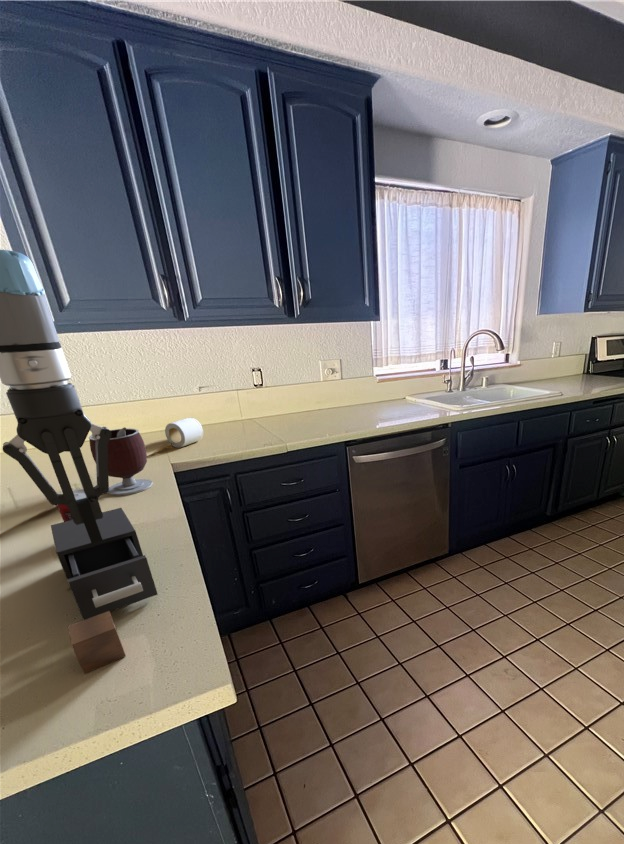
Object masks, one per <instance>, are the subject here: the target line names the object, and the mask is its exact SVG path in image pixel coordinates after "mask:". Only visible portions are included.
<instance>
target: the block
mask: <svg viewBox="0 0 624 844" xmlns="http://www.w3.org/2000/svg"><path fill="white" fill-rule="evenodd" d="M67 629H68V635H69V640H70V644H71V647H72V650H73V652H74V654H75V657H76V659H77V662H78V663H79V666H80V669H81V670H82V673H83V674H84V675H85V674H87V673H90V672H92V671H95V670H98V669H100V668H102V667H104V666H106V665H108V664H109V665H110V664H111V663H114V662H116V661H118V660H121V659H123V658H126V656H127V655H126V653H125V650H124V646H123V645H122V644H123V643H122V641H121V638H120V635H119V633H118V630H117V627H116V625H115V621H114V619H113V617H112V614H111V612H110V611H107V612H105V613H102V614H99V615H96V616H94V617H91V618H88V619H86V620H83V619H82V620H81V621H77V622H74V623H72V624H69V625H68V626H67Z"/></svg>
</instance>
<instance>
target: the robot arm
mask: <svg viewBox="0 0 624 844" xmlns="http://www.w3.org/2000/svg"><path fill="white" fill-rule="evenodd" d="M45 293H46V291H45V289H44V288H43V286H42V284H41V281H40V279H39V276H38V273H37V271H36V269H35V267H34V264H33V262H32V261H31V259H30V258H29V257H28V256H27V255H25V254H23V253H22V252H19V251H15V250H10V249H9V250H8V249H0V382H1V384H3V385H4V386H7V387H9V388H8V389H7V391H6V393H5V394H6V397H7V399H8V401H9V405H10V406H11V409H12V412H13V414H14V417H15V419H16V423H17V426H16V435H15V436H14V437H13V438H11V439H10V440H9V441H5V442H4V443H3V444H2V452H3V453H5V454H6V455H7V456H9V458H12V459H13V460H15V461H17V462H18V464H19V465H20V466H21V468H22V469H23V470H24V471H25V473H26V474H27V475H28V476H29V478H30V479H31V481H32V482H33V483H34V484H35V486H36V487H37V488H38V489H39V491H40V492H41V494H42V495H43V496H44V497H45V499H46V500H47V501H48V502H49V503H50V505H52V506H57V505H66V506H67V507H68V508H69V511H70V513H71V516H72V519H73V521H74V523H75V524H76V525H79V524H82V523H84V525H85V527H86V530H87V533H88V535H89V538H90V541H91V543H92V544H93V543H97V542H100V541H103V540H102V537H101V534H100V531H99V529H98V526H97V523H96V520H97V519H101V518H103V514H102V512H103V511H102V508H101V506H100V502H99V498H100V497H101V496H102V495H106V494H109V493H108V491H109V487H110V484H109V483H110V482H109V481H110V480H109V476H108V448H107V445H108V443H109V440H110V438H111V435H112V432H111V431H110V430H111V429H109V428H108V427H107V426H100V425H97V424H94V423H92V422H91V420H90V419H89V417H87V416H86V414H85V413H84V411H83V407H82V404H81V402H80V398H79V396H78V392H77V390H76V386H75V385H73V383H71V382H68V381H69V380H71V378H72V374H71V371H70V368H69V365H68V362H67V360H66V357H65V353H64V351H63V348H62V344H61V343H60V338H59V335H58V333H57V328H56V326H55V323H54V320H53V316H52V314H51V310H50V307H49V305H48V301H47V297H46V295H45ZM89 432H91V435H92V437H93V439H94V440H96V442H95V448H96V463H95V468H96V469H95V470H96V485H95V486H94V485H93V482H92V479H91V475H90V473H89V471H88V468H87V465H86V462H85V458H84V455H83V453H82V449H81V448H82V447H83V446H84V444H85V442H86V439H87V437H88V435H89ZM25 442H26V443H27V444H29V445H31V446H32V447H33V448H35V449H37V450H38V451H40V452H41V453H44V454H46V455H48V458H49V461H50V463H51V466H52V468H53V471H54V474H55V476H56V479H57V482H58V484H59V487H60V490H61V492H62V493H57V491H56V490H55V488H54V487H53V486H52V484H51V483H50V482H49V481H48V479H47V478H46V477H45V475H44V474H43V473H42V471H41V470H40V468H39V467H38V466H37V465H36V464H35V462H34V461H33V460H32V458H31V457H30V456H29V455H28V453H27V451H28V448H27V445H26V444H25ZM64 452H65V453H69V454H70V456H71V459H72V462H73V464H74V466H75V467H74V468H75V470H76V473H77V476H78V478H79V481H80V484H81V486H82V489H84V492H85V495H86V497H87V498H83V499H79V500H76V499H75V496H74V493H73V488H72V485H71V482H70V479H69V477H68V474H67V472H66V471H67V470H66V469H65V466H64V463H63V460H62V458H61V455H60V454H61V453H64Z"/></svg>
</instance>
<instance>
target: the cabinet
mask: <svg viewBox="0 0 624 844" xmlns="http://www.w3.org/2000/svg"><path fill="white" fill-rule="evenodd" d="M102 514H103V518H101V519H97V520H96V523H97V526H98V529H99V531H100V534H101V537H102V540H103V541H100V542H97V543H93V544H92V543H91V541H90V538H89V535H88V533H87V530H86V527H85V525H84V523H82V524H79V525H76V524H75V523H74V521H73V520H70V521H66V522H64V521H61V522H58V523H54V524H50V527H51V528H50V529H51V533H52V538H53V545H54V549H55V553H56V555H57V558H58V561H59V563H60V565H61V568H62V570H63V572H64V575H65V577H66V580H67V581H68V579H70V578H74V577H73V574H72V570H71V566H70V562H69V558H68V554H70V553H73V552H77V551H80V550H84V549H87V548H91V547H94V546H98V545H101V544H105V543H108V542H111V541H115V540H118V539H122V538H125V537H129V539H130V541H131V542H132V544H133V546H134V548H135V549H136V551H137V553H138V555H139V557H140V556H144V553H143V549H142V547H141V543H140V541H139V538H138V535H137V531H136V529H135V527H134V526H133V524H132V523H131V521H130V520H129V517H128V516H127V514H126V513H125V511H124V510H123V508H122V507H117V508H115V509H110V510H105V511H102Z"/></svg>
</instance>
